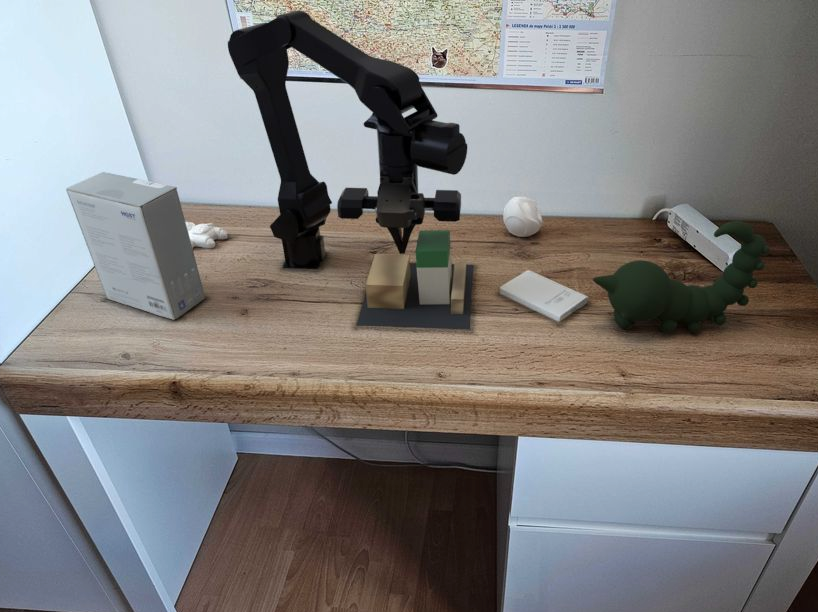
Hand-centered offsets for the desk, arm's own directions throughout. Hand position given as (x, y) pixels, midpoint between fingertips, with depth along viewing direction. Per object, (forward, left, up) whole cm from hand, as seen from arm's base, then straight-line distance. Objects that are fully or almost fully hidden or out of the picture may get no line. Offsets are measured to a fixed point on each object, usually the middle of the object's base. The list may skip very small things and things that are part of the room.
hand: (402, 252), depth 109 cm
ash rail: (+9, 0, -8) cm, 12 cm away
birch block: (-3, 0, -8) cm, 8 cm away
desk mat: (+2, 0, -8) cm, 8 cm away
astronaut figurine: (-43, +17, -8) cm, 47 cm away
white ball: (+20, +23, -8) cm, 32 cm away
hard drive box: (-42, -4, -8) cm, 43 cm away
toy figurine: (+42, -6, -8) cm, 44 cm away
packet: (+3, 0, -8) cm, 8 cm away
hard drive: (+23, 0, -8) cm, 25 cm away
